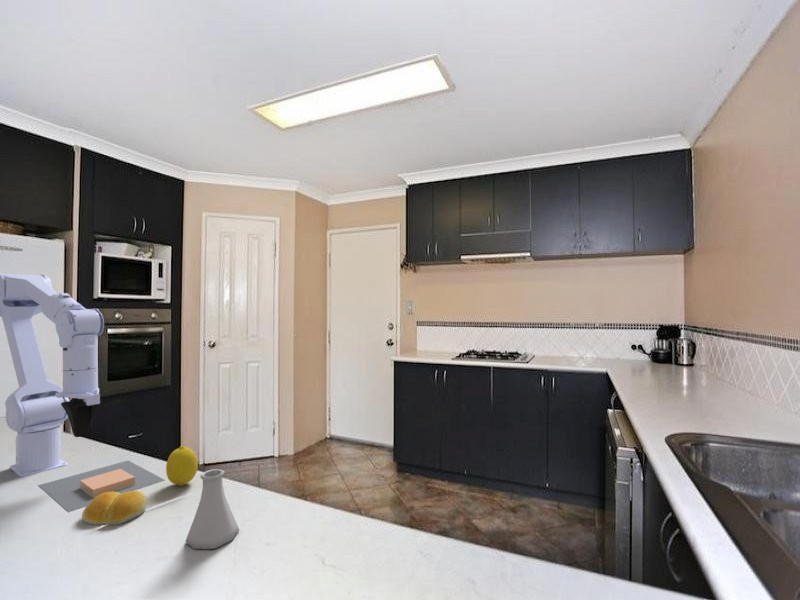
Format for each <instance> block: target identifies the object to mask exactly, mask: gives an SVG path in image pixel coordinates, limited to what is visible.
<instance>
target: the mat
mask: <svg viewBox="0 0 800 600" xmlns="http://www.w3.org/2000/svg"><path fill="white" fill-rule="evenodd" d="M118 469H122V470H124V471H126V472H127V473H129V474H131V475H132V476H134V477H135V485H132V486H129V487H126V488H123V489H120V490H116V491H113V492H118V493H120V494H122V493H125V492H128V491H138V490H139V489H143V488H145V487H149V486H152V485H155V484H158V483H161V482H165V479H164V478H162V477H160V476H158V475H156V474H155V473H153V472H150V471H149V470H147V469H145V468H143V467H142V466H140V465H137V464H136V463H134V462H132V461H130V460H125V461H120V462H117V463H114V464H110V465H107V466H103V467H98V468H96V469H95V468H94V469H92V470H89V471H85V472H81V473H78V474H73V475H70V476H67V477H63V478H59V479H56V480H52V481H49V482H46V483H45V482H44V483H40V484H37V485H38V487H39V488H40V489H41V490H42V491H43V492H44V493H46V494H47V495H48V496H50V498H51V499H53V500H54V501H55V502H56V503H57V504H58V505H59V506H60V507H62V508H63V509H64V510H65V511H66V512H67V513H70V512H74V511H77V510H80V509H83V508H86V507H87V506H88V505H89V503H90V502H91V501H92V500H93V499H94V498H93V497H91V496H90V495H89V494H87V493H86V492H85V491H83V490H82V489H81V488H80V480H83V479H86V478H90V477H93V476H97V475H100V474H104V473H107V472H111V471H114V470H118Z"/></svg>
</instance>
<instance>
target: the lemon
mask: <svg viewBox="0 0 800 600" xmlns="http://www.w3.org/2000/svg"><path fill="white" fill-rule="evenodd" d="M165 466H166V467H165V472H166V477H167V479H168V480H169V482H171V484H174V485H177V486H179V487H184V486H186V484H188V483H189V482H191V481H192V480H193V479H194V478H195V476H196V474H197V471H198V466H199V465H198V457H197V454H196V452H195V451H194V450H193V449H191V448H190V447H186V446H185V445H181V446H179V447H178V448H176V449H174V450H173V451H172V452H171V453H170V454H169V456H168V459H167V461H166V465H165Z"/></svg>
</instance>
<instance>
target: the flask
mask: <svg viewBox="0 0 800 600" xmlns="http://www.w3.org/2000/svg"><path fill="white" fill-rule="evenodd" d="M224 475H225V471H224V470H223V469H220V468H219V469H218V468H214V469H213V468H212V469H210V470H209V469H208V470H206V471H204V472H203V473H201V474H200V476H199V478H200V479H201V480H202V490H201V496H200V499H199V500H200V501H199V503H198V506H197V508H196V509H197V510H196V512H195V515H194V518H193V521H192V523H191V525H190V528H189V530H188V533H187V535H186V536H187V537H186V539H185V543H186V544H187V545H188V546H189V547H192V548H193V549H195V550H211V549H213V550H214V549H217V548H219V547H221V546H223V545H224V544H226V543H229V542H231V541H232V540H234V538H235V537H236V535H237V534H238V533H239V531H240V528H239V526H238V523H237V521H236V519H235V516H234V514H233V512H232V510H231V507H230V504H229V503H228V500H227V498H226V496H225V495H226V494H225V490H224V486H223V476H224Z"/></svg>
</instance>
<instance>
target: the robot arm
mask: <svg viewBox="0 0 800 600" xmlns="http://www.w3.org/2000/svg"><path fill="white" fill-rule="evenodd" d="M40 313H42V314H43V315H44V316H45V317H46V318H47V319H49V320H50V321H51V323H53V324H55V325H54V326H55V330H56V334H57V337H58V344H59V347H60V348H62V385H59V384H57V383H55V382H53V381H50V380H48V379H49V378H48V375H47V372H46V368H45V367H46V366H45V363H44V361H43V357H42V356H43V355H42V353H41V349H40V345H39V341H38V337H37V334H36V329H35V326H34V321H33V317H34V316H37V315H38V314H40ZM0 318H1V320H2V324H3V327H4V330H5V335H6V338H7V344H8V347H9V352H10V354H11V355H10V356H11V359H12V364H13V368H14V372H15V375H16V380H17V384H18V388H17V389H15V390H13V392H12V393H11V394H9V395H8V397H7V398H6V400H5V403H4V405H5V421H6V425H7V427H8V428H9V429H10V430H12V431H14V432H17V433H16V434H17V435H16V436H15V464H11V465H10V466H9V469H10V470H12V472H14V473H16V475H18V477H20V478H24V477H27V476H28V477H29V476H31V475H36V474H38V473H39V474H40V473H43V472H46V471H51V470H54V469H55V470H56V469H58V468H63V467H66V466H68V463H67V462H65V461H64V460H63V459H62V458H61V457H62V456H61V455H62V454H61V453H62V451H61V446H62V445H61V426H62V425H63V426H64V424H65V421H66V420H68V421H69V424H70V428H71V432H72V434H73V437H75V438H80V437H85V436H89V433H90V429H91V426H92V424H93V423H92V422H93V418H94V415H95V413H96V411H97V409H98V408H99V406H100V404H101V394H100V388H99V366H98V365H99V361H98V359H99V358H98V357H99V355H98V354H99V352H98V351H99V349H98V347H99V346H98V345H99V342H98V341H99V339H98V337H99V336H101V335H102V334H103V332H104V329H105V319H104V315H103V313H102V312H101V311H100V310H99V309H98V308H86V307H84V306H83V305H82V304H81V303H79V302H78V301H76V300H75V299H73V298H72V297H71V295H70V294H69V293H68V292H65V293H64V292H62V293H58V292H56V291H55V289H53V284H52V279H51V278H50V277H49V276H47V275H46V274H26V273H25V274H22V273H1V272H0Z"/></svg>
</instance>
